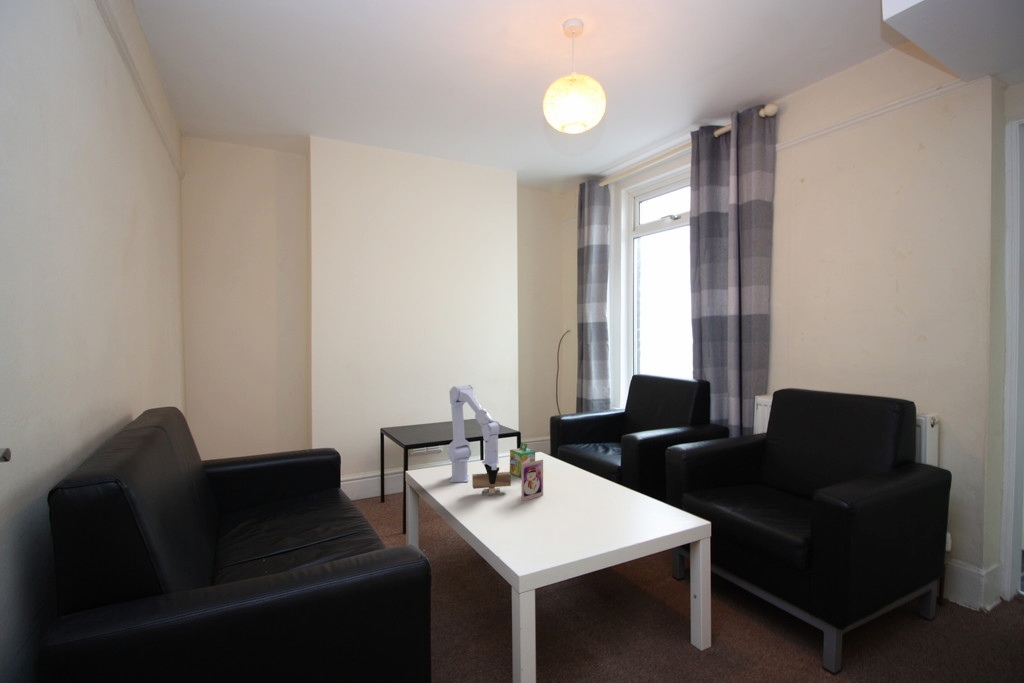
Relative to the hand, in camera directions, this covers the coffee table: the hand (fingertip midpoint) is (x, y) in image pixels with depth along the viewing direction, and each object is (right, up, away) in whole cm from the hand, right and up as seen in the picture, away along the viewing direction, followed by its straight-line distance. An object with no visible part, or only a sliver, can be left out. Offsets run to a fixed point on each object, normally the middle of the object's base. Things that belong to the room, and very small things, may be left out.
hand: (491, 482), depth 199 cm
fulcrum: (0, -4, 0) cm, 4 cm away
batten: (0, -2, 0) cm, 2 cm away
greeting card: (+15, -5, -5) cm, 17 cm away
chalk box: (+14, -4, +26) cm, 30 cm away
